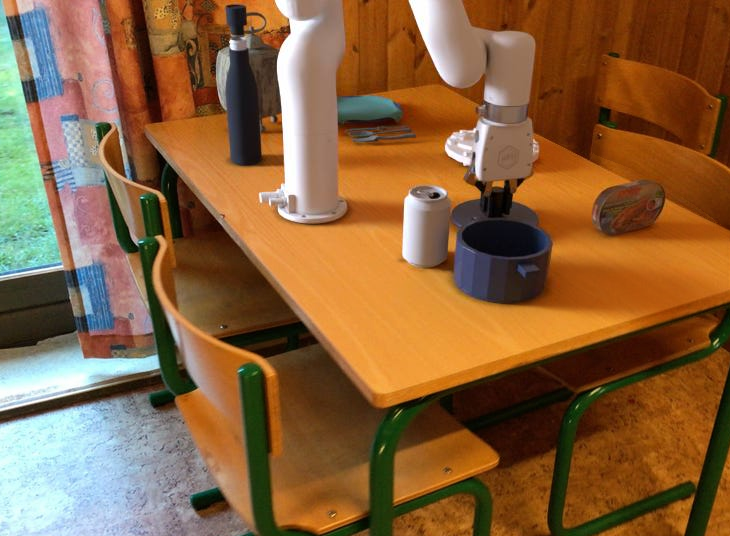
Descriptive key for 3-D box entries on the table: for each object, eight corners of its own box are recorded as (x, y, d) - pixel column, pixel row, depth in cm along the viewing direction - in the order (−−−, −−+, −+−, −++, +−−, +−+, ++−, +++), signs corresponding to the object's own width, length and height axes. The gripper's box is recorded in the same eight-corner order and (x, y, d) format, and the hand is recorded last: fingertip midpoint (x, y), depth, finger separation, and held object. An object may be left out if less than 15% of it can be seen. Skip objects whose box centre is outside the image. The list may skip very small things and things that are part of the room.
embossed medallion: (427, 147, 184) (428, 134, 182) (501, 134, 192) (502, 121, 190) (480, 178, 170) (481, 164, 168) (557, 163, 178) (559, 149, 176)
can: (443, 272, 136) (448, 202, 129) (398, 267, 137) (400, 197, 130) (450, 252, 142) (455, 184, 135) (406, 247, 143) (409, 180, 136)
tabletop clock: (278, 119, 197) (273, 5, 183) (296, 130, 191) (292, 13, 177) (220, 128, 190) (210, 11, 176) (236, 141, 184) (227, 20, 170)
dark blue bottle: (225, 162, 173) (211, 7, 157) (240, 152, 178) (229, 1, 161) (252, 167, 171) (241, 11, 155) (267, 157, 176) (259, 4, 160)
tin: (596, 239, 147) (604, 194, 143) (585, 232, 150) (592, 187, 145) (661, 224, 153) (671, 180, 149) (649, 217, 156) (659, 174, 151)
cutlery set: (389, 101, 211) (389, 91, 209) (425, 141, 187) (425, 131, 186) (311, 105, 206) (310, 96, 205) (337, 147, 182) (337, 137, 181)
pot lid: (471, 245, 143) (474, 211, 140) (438, 209, 156) (439, 177, 152) (553, 234, 148) (558, 201, 144) (514, 200, 160) (518, 169, 156)
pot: (482, 318, 124) (487, 273, 120) (434, 258, 140) (436, 216, 136) (570, 304, 128) (578, 260, 124) (514, 247, 144) (518, 207, 140)
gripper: (469, 122, 135) (460, 227, 146) (559, 114, 140) (545, 216, 150) (451, 108, 141) (444, 210, 152) (539, 100, 146) (526, 200, 156)
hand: (495, 212), depth 151 cm, fingers closed on pot lid, 2 cm apart
